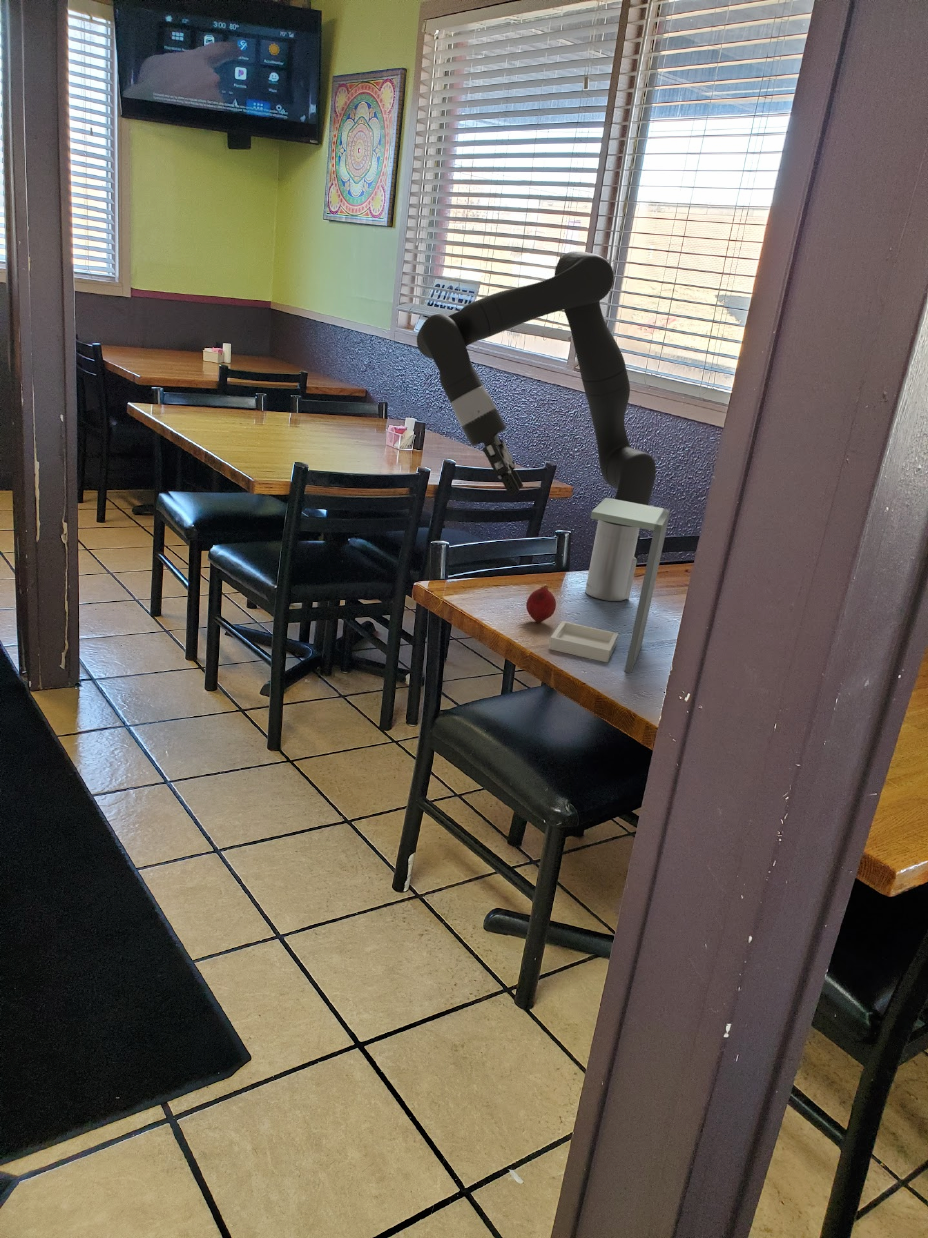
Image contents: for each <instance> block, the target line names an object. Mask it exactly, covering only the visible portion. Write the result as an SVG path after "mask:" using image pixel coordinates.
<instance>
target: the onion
mask: <svg viewBox="0 0 928 1238" xmlns="http://www.w3.org/2000/svg"><path fill="white" fill-rule="evenodd" d="M548 588H549V585H548V584H546V583H544V584H542V586H541V587H540V588H538V589H536V590H533V592H531V594H530V595H529V596H528V598H527V599H526V611H527V613H528V615H529V616H530V617H531V619H532V620H533V621H534V622H536V623H538V624H541V623H542V622H544V621H546V620H547V619H549V618H551V617H552V616H553V615H554V613H555V610H556V607H557V601H556V598H555V596H554V594H553V593H552V592H551V591H550V590H549V589H548Z"/></svg>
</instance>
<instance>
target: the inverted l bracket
mask: <svg viewBox="0 0 928 1238" xmlns="http://www.w3.org/2000/svg"><path fill="white" fill-rule="evenodd" d="M670 513H671V509H669V508H668V509H667V508H665V507H664V508H662V507H658V506H653V505H643V504H637V503H632V502H627V501H622V500H616V499H615V498H611V497H605V498H603V500H602V501H601V502H600V503H599V504H597V505H596V507H595V508H593V510H591V514H590V519H592V520H597V521H598V520H602V521H607V522H612V523H617V524H622V525H627V526H632V527H637V528H640V529H643V530H648V531H653V533H652V538H651V542H650V547H649V552H648V557H647V562H646V565H645V566H646V567H645V570H644V576H643V580H642V586H641V589H640V595H639V600H638V604H637V610H636V615H635V619H634V623H633V627H632V628H633V629H632V633H631V638H630V641H629V648H628V652H627V653H628V654H627V658H626V663H625V666H624V667H625V668H624V672H626V673H630V674H631V673H632V671H633V669H634V668H635V664H636V661H637V659H638V656H639V654H640V651H641V649H642V646H643V641H644V637H645V632H646V627H647V623H648V617H649V613H650V609H651V604H652V601H653V600H652V599H653V594H654V589H655V585H656V580H657V576H658V570H659V566H660V561H661V557H662V552H663V547H664V542H665V538H666V533H667V529H668V523H669V520H670V519H669V518H670V515H671V514H670Z"/></svg>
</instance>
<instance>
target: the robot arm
mask: <svg viewBox="0 0 928 1238" xmlns="http://www.w3.org/2000/svg"><path fill="white" fill-rule="evenodd" d="M614 277H615V274H614V271H613V267H612V265H611V264H610V262H609V261H608V260H607V259H606V258H604V257H602V256H601V255H598V254H596V253H591V252H586V251H579V250H577V251H575V250H573V251H569V252H566V253H565V254H563V255H562V257H560V259H559V260H558V262H557V263H556V266H555V270H554V275H553V276H552V277H550V278H547V279H544V280H541V281H539V282H535V283H532V284H528V285H523V286H518V287H514V288H509V289H504V290H502V291H497V292H496V293H493V294H490V295H487V296H485V297H482V298H479V299H477V300H476V301H472V302H470V303H468V304H467V305H465V306H464V307H462V308H461V309H460V310H458V311H456V312H453V313H452V314H449V315H446V314H443V313H442V314H441V313H435V314H432V315H431V316H429V317H427V318H426V320H425V321H424V322H423V324H422V325H421V327H420V328H419V330H418V333H417V336H416V345H417V348H418V350H419V351H420V353H421V355H423V356H424V357H426V358H428V359H431V360H433V361H434V364H435V365H436V367H437V369H438V372H439V381H440V385H441V387H442V389H443V391H444V393H445V394H446V397H447V400H448V401H449V403H450V405H451V407H452V410H453V412H454V414H455V417H456V419H457V421H458V422H459V424H460V427H461V429H462V431H463V432H464V434H465V437H466V438H467V440H468V442H469V444H470V445H471V446H472V447H475V446H478V445H480V444H483V445H484V447H483V448H482V449H483V450H482V452H483V453H484V455H485V458H487V460H488V462H489V465H490V467H491V469H493V472H494V475H495V476H496V477H497V478H498V479H499V480H501V482H502V485H503V486H504V488H505V490H506V492H507V493H508V496H509V497H510V496H511V497H513V496H514V495H516V494H519V492H520V489H522V488H524V484H523V482H522V480H521V478H520V475H519V474H518V472H517V470H516V464H515V461H514V460H513V457H512V454H511V453H510V451H509V449H508V446H507V445H506V443H505V441H504V440H503V439H502V438H500V439H499V437H498V434H500V433H502V432H503V431H504V432H505V430H506V429H507V426H506V424H505V423H504V420H503V418H502V417H501V414H500V413H499V411H498V408H497V407H496V404H495V403H494V401H493V399H492V397H491V396H490V394H489V392H488V391H487V390H486V387H485V386H484V385H483V384H484V383H483V382H482V381H481V379H480V376H479V374H478V373H477V371H476V369H475V368H474V366H473V364H472V362H471V358H470V354H469V352H468V349H467V348H468V346H470V345H471V344H473V343H476V342H478V341H479V342H480V341H481V340H485V339H488V338H490V337H492V336H494V335H497V334H499V333H502V332H504V331H507V330H509V329H511V328H514V327H516V326H519V325H522V324H525V323H527V322H530V321H532V320H534V319H538V318H541V317H545V316H547V315H549V314H553V313H556V312H560V311H564V313H565V317H566V319H567V324H568V325H569V326H568V327H569V329H570V333H571V337H572V342H573V347H574V351H575V355H576V359H577V363H578V367H579V372H580V373H579V374H580V377H581V382H582V385H583V390H584V393H585V397H586V400H587V404H588V407H589V411H590V417H591V421H592V425H593V428H594V434H595V438H596V446H597V455H598V462H599V469H600V473H601V475H602V478H603V480H604V481H605V482H606V484H608V485H609V486H610V487H612V488H613V489H614V488H615V489H616V493H615V496H614V497H615V498H614V499H616V500H622V501H627V502H632V503H637V504H643V505H648V506H650V500H651V496H652V492H653V489H654V484H655V481H656V474H657V467H656V466H657V465H656V462H655V460H654V458H653V456H652V455H650V454H649V453H646V452H645V451H642V450H639V449H636V448H632V446H631V445H630V442H629V438H628V435H627V430H626V425H625V416H626V412H627V408H628V404H629V400H630V399H629V398H630V394H631V393H630V392H631V387H630V386H631V385H630V380H629V376H628V370H627V366H626V361H625V359H624V356H623V354H622V353H623V352H622V351H621V349H620V347H619V345H618V343H617V341H616V340H615V338H614V336H613V334H612V332H611V329H610V328H609V326H608V325H607V322H606V320H605V318H604V315H603V312H602V308H601V307H602V306H601V304H600V301H602V300H604V299H605V297H607V295H608V294H609V293H610V291H611V290H612V287H613V284H614ZM640 529H641V528H637V527H632V526H627V525H622V524H617V523H612V522H607V521H602V520H597V526H596V531H595V536H594V537H595V538H594V542H593V548H592V553H591V559H590V564H589V569H588V575H587V579H586V584H585V591H584V592H585V593H586V594H587V595H588V596H591V597H592V598H595V599H598V600H603V601H607V602H608V601H609V602H621V601H624V600H629V599H630V597H631V591H632V586H633V582H634V576H635V571H636V567H637V562H638V560H637V558H636V557H635V553H636V548H637V543H638V539H639V533H640Z"/></svg>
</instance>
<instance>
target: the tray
mask: <svg viewBox="0 0 928 1238" xmlns="http://www.w3.org/2000/svg"><path fill="white" fill-rule="evenodd" d="M618 638H619V633H618V632H613V631H608V630H605V629H600V628H595V627H591V626H587V625H583V624H578V623H574V622H569V621H565V620H562V621H561V622H560V623H559V625H558V627H556V629H555V630H554V632H553V633H552V635H551V636H550V639H549V646H548V650H552V651H557V652H560V653H565V654H570V655H573V656H578V657H582V658H587V659H591V660H595V661H599V662H603V663H609V661H610V659H611V656H612V654H613V652H614V650H615V649H616V646H617V643H618Z"/></svg>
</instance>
